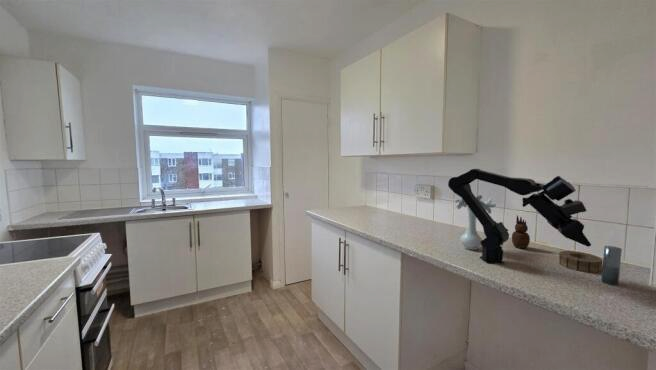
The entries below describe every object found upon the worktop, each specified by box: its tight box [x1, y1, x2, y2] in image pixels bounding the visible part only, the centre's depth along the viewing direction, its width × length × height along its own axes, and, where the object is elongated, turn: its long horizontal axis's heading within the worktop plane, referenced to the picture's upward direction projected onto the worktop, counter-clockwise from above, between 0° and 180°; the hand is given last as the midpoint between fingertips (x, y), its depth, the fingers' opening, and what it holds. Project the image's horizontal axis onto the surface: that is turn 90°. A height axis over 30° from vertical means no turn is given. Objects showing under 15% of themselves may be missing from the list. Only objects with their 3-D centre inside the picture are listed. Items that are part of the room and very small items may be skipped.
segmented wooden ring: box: [558, 250, 603, 274], centre depth 107 cm, size 12×12×4 cm
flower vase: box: [454, 195, 496, 250], centre depth 130 cm, size 13×18×25 cm
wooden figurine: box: [511, 214, 531, 250], centre depth 129 cm, size 7×6×15 cm
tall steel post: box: [600, 245, 623, 286], centre depth 93 cm, size 4×4×12 cm
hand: (584, 241), depth 95 cm, fingers open, 9 cm apart
